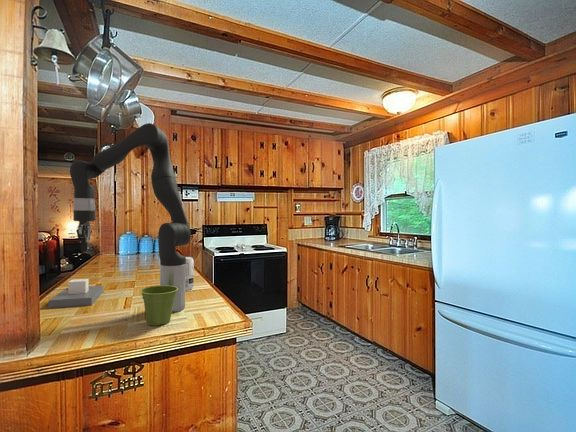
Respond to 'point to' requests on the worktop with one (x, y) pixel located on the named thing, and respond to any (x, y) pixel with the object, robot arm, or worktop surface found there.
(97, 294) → the socket plate
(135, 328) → the worktop surface
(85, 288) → the plug
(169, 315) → the plant pot
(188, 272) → the supplement can
